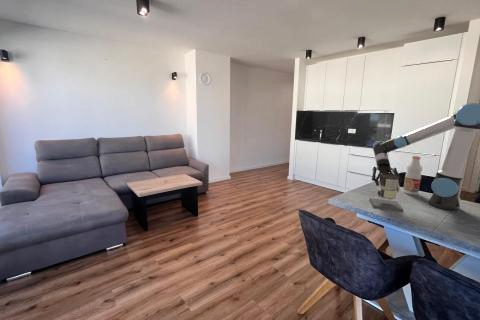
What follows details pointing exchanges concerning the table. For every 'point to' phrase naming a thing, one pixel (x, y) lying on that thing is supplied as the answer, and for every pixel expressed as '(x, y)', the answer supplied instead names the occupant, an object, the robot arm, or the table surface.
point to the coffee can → (388, 186)
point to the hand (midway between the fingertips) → (389, 190)
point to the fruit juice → (413, 177)
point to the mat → (385, 204)
